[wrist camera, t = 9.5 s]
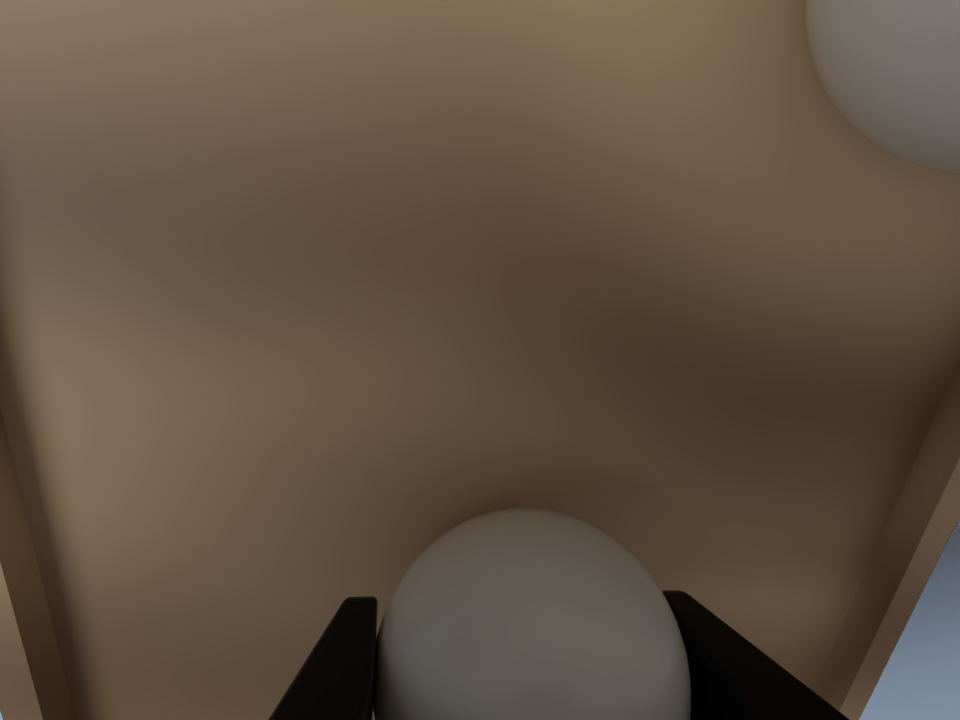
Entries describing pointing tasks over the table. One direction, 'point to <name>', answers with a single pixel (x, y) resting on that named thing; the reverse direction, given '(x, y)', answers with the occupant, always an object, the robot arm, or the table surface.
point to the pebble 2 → (893, 73)
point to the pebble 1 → (529, 628)
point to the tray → (449, 329)
